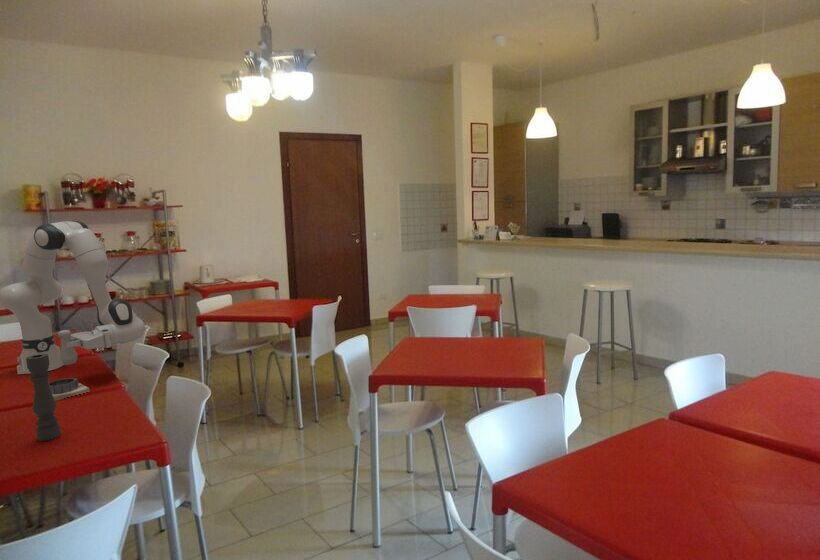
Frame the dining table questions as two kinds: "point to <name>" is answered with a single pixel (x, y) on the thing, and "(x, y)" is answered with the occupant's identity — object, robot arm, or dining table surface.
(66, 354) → the salt shaker
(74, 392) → the birch stand
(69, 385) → the metal collar
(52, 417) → the candle holder
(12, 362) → the dining table surface
